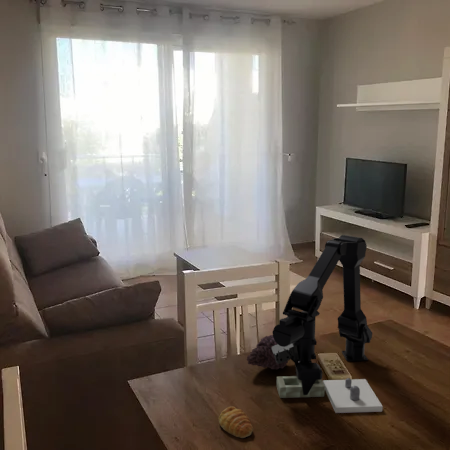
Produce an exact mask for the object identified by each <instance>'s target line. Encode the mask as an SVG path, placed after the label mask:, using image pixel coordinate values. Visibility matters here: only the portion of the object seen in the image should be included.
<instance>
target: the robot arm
mask: <svg viewBox="0 0 450 450" xmlns="http://www.w3.org/2000/svg"><path fill="white" fill-rule="evenodd" d="M367 246H368V245H367V242H366V240H365V239H364V238H363V237H358V236H353V235H346V234H342V235H340V236H339V237H335V238H331V239H329V240H327V241H326V242H325V244H324V249H323V251H322V252H321V253H320V256H319V257H318V259H317V260H316V263H315V264H314V266H313V267H312V269H311V270H310V272H309V274H308V276H307V277H306V278H305V279H304V280H301V281H299V282H298V283H297V284H296V285H295V287H294V288H293V289H292V291H291V292H290V294H289V296H288V298H287V301H286V304H285V306H284V309H283V311H282V314H283V316H287V317H285V318H280V319H279V321H278V324H276V325H275V326H274V327H273V329H272V335H273V338H274V340H275V342H276V343H277V345H275V346H273V347H272V352H273V354H274V357H275V360H276V362H277V363H278V364H280V363H283V362H286V361H288V362H289V361H292V362H293V364H294V368H295V376H297V378H298V379H299V380H301V384H302V390H303V395H308V393H309V391H310V389H311V388H312V386H313V384H314V383H315V381H316V380H323V371H322V368H321V366H320V365H319V364H318V363H317V362H313V361H312V360H317V355H316V353H315V349H316V348H315V346H317V343H318V341H317V339H316V317H318V316H319V315H320V312H319V311H318V310H319V309H320V307H321V306H322V305H321V303H322V301H323V298H324V293H323V290H324V287H325V285H326V284H327V281H329V278H330V277H331V275H332V273H333V272H334V270H335V268H336V267H337V265H338V262H339V263H340V264H341V266H342V280H343V281H342V285H343V287H342V288H343V310H342V312H341V314H340V315H339V316H338V317H337V329H338V333H339V334H338V335H339V337H340V338H344V339H345V350H341V353H342V355H343V357H344V358H345V360H346V362H358V361H359V362H364V361H365V362H366V361H367V362H368V361H369V360H368V359H369V358H368V357H367V355H366V354H365V344H370V343H371V340H372V338H373V331H372V330H371V329H370V327H369V326H368V322H367V316H366V314H365V313H364V311H363V309H362V308H361V307H362V306H361V304H362V303H361V299H362V298H361V263H362V262H363V260H364V259H365V257H366V251H367ZM295 309H296V310H295ZM299 310H300V311H299Z"/></svg>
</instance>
